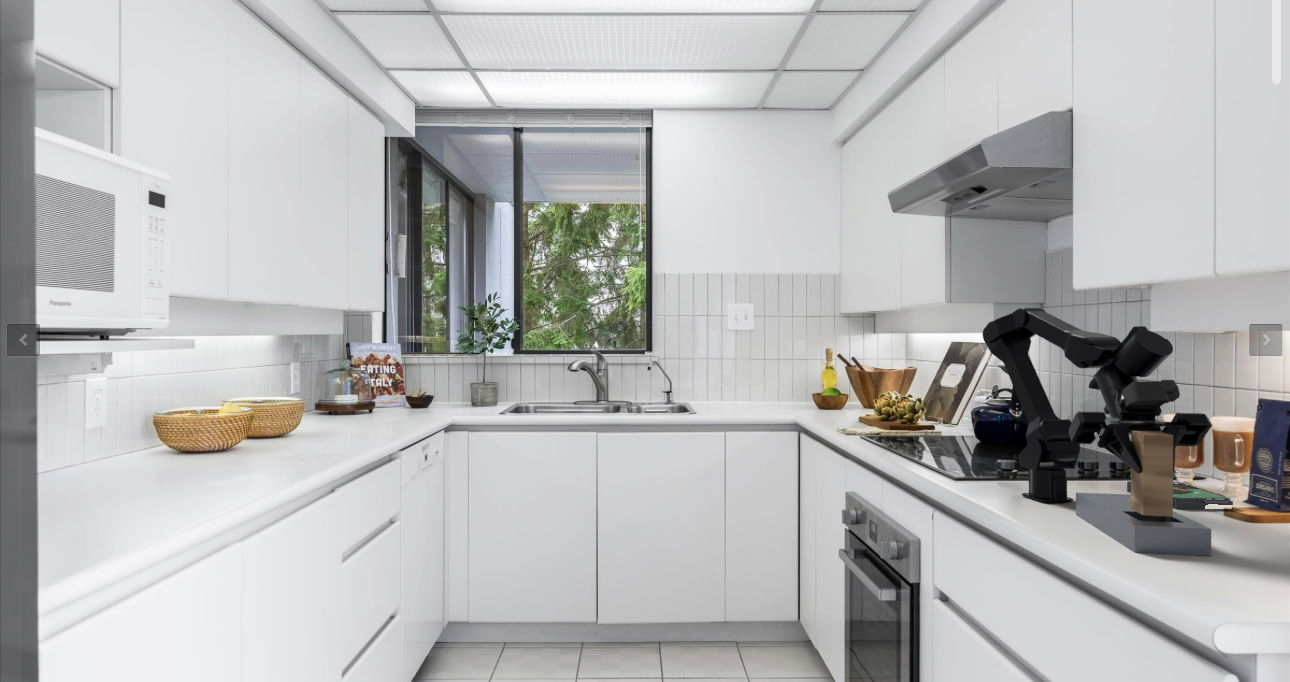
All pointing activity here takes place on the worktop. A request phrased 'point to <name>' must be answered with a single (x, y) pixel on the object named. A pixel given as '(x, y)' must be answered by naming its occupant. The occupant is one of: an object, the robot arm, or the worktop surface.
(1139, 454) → the walnut peg
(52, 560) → the worktop surface
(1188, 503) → the disk drive
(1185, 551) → the block
